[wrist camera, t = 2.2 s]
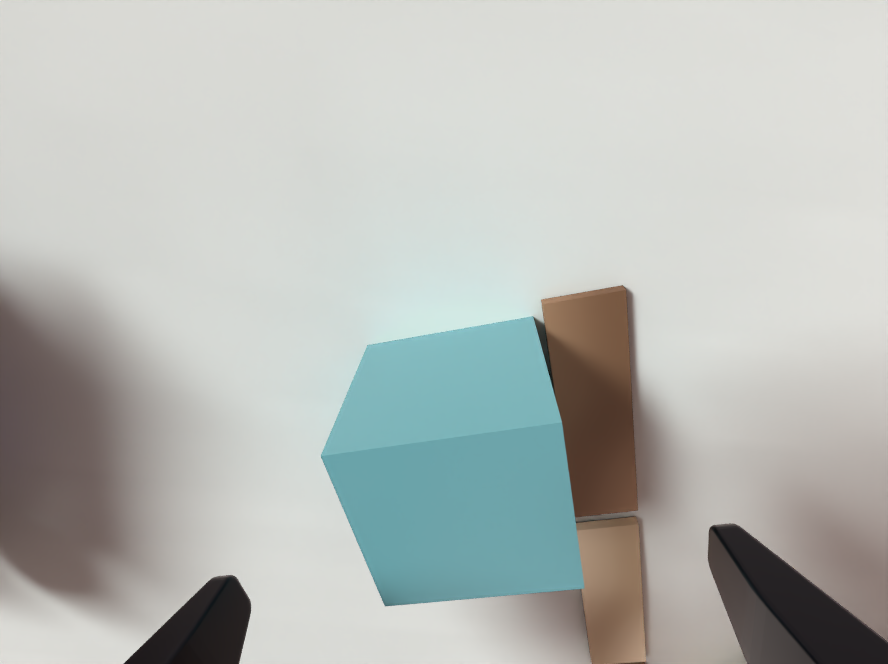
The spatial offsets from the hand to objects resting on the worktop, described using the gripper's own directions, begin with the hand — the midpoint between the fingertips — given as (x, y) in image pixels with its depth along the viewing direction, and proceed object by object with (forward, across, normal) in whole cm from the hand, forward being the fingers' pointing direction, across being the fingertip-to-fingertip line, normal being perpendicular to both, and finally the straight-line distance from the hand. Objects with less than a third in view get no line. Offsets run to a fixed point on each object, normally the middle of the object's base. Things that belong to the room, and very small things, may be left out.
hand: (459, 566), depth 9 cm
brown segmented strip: (+5, -4, +9) cm, 11 cm away
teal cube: (+5, 0, 0) cm, 5 cm away
